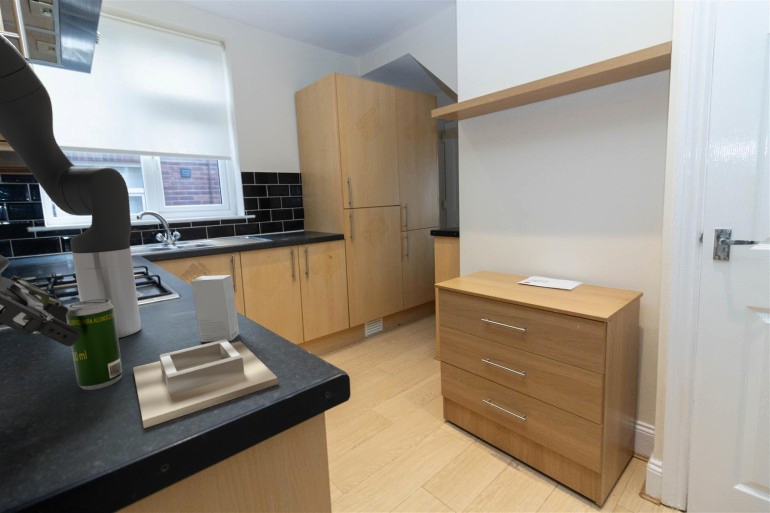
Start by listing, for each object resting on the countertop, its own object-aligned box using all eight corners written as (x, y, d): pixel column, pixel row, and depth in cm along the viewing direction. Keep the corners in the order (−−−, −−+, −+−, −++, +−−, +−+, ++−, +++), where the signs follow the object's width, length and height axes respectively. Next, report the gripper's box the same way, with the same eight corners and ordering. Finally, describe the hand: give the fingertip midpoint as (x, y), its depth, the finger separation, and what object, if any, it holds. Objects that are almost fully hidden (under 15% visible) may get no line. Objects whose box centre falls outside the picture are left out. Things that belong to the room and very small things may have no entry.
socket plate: (134, 373, 57) (131, 352, 56) (240, 346, 66) (238, 327, 66) (143, 428, 43) (139, 400, 42) (277, 384, 52) (276, 360, 52)
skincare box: (240, 333, 73) (234, 273, 71) (230, 342, 69) (224, 278, 67) (209, 334, 73) (202, 274, 71) (197, 343, 69) (190, 279, 67)
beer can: (131, 372, 58) (120, 297, 56) (109, 389, 52) (96, 307, 50) (94, 374, 57) (82, 299, 55) (68, 392, 52) (54, 309, 50)
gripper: (-52, 241, 40) (99, 321, 48) (-17, 234, 51) (100, 300, 59) (-120, 299, 37) (51, 372, 46) (-67, 278, 48) (62, 340, 57)
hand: (79, 331), depth 52 cm, fingers open, 8 cm apart
